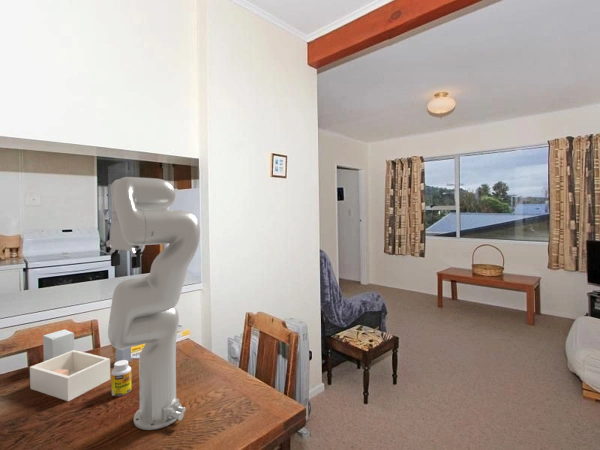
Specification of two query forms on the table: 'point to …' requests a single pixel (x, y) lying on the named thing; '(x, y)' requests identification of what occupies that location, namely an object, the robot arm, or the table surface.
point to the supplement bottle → (121, 378)
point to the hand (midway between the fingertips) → (125, 266)
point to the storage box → (70, 374)
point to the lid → (124, 354)
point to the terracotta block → (61, 371)
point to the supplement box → (57, 344)
